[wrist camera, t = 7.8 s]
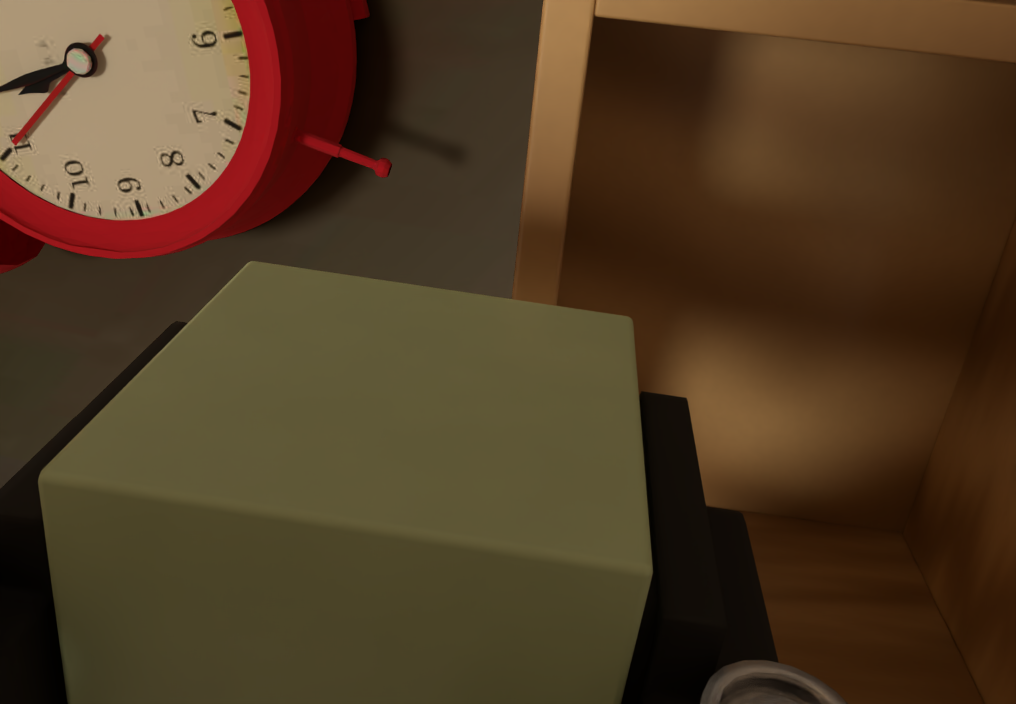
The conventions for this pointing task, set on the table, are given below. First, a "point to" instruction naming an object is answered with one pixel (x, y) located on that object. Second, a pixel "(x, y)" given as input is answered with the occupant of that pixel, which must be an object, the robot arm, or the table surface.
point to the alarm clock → (166, 119)
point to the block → (357, 504)
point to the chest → (811, 298)
